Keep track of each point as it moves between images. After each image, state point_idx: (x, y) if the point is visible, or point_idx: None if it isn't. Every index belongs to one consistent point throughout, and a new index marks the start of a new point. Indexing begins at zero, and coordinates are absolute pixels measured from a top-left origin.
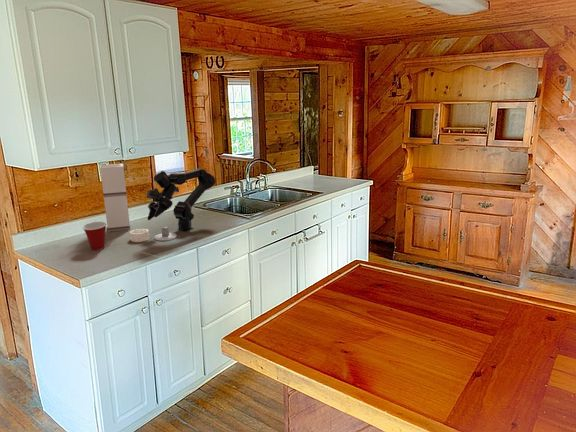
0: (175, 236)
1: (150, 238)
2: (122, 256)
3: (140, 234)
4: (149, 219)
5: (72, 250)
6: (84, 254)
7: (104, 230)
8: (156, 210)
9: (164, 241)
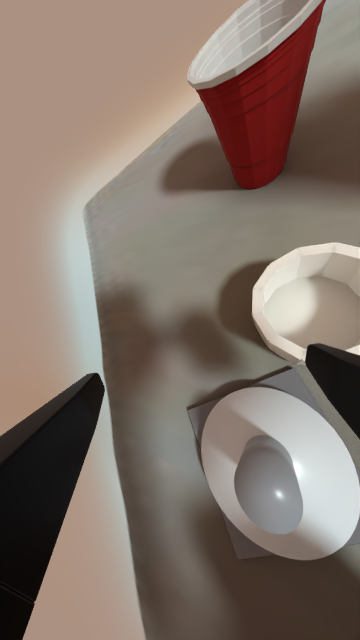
0: (221, 508)
1: (291, 369)
2: (139, 256)
3: (252, 303)
4: (312, 367)
5: None
6: (213, 158)
7: (226, 114)
8: (28, 432)
9: (195, 415)
